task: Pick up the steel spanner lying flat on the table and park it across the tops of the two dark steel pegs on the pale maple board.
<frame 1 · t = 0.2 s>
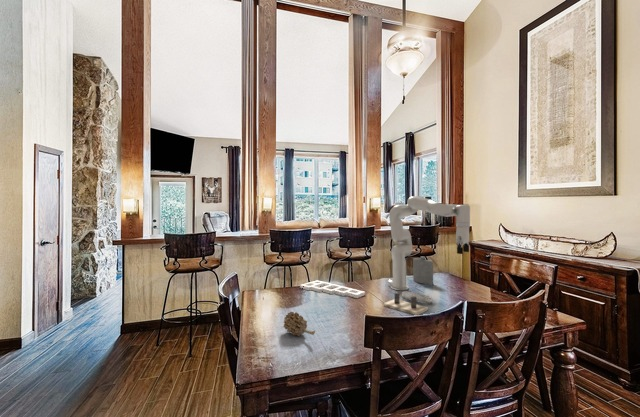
hand: (463, 252, 187), 31 cm above the table, tool pointing down, fingers open, 9 cm apart
peg board: (405, 307, 180), on the table
hip flask: (422, 282, 233), on the table
holder: (331, 292, 214), on the table
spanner: (416, 300, 193), on the table
pine cone: (300, 336, 143), on the table
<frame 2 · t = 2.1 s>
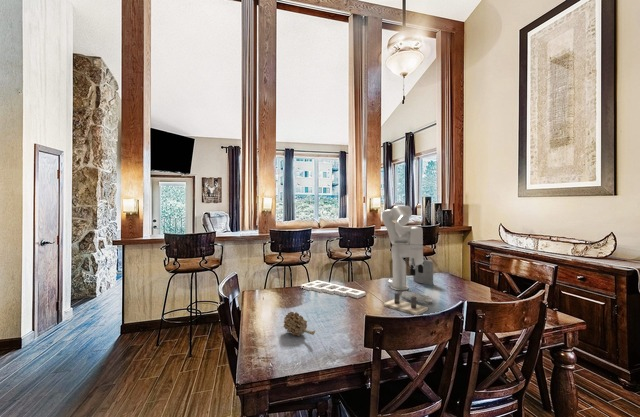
hand: (416, 273, 192), 17 cm above the table, tool pointing down, fingers open, 9 cm apart
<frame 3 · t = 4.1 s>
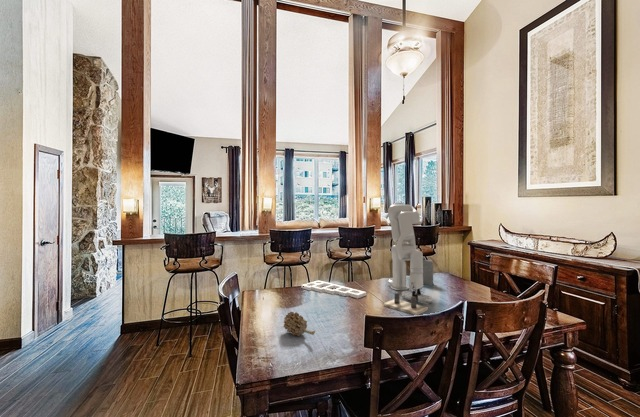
hand: (416, 299, 193), 1 cm above the table, tool pointing down, fingers closed on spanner, 4 cm apart
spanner: (416, 300, 193), on the table, touching gripper
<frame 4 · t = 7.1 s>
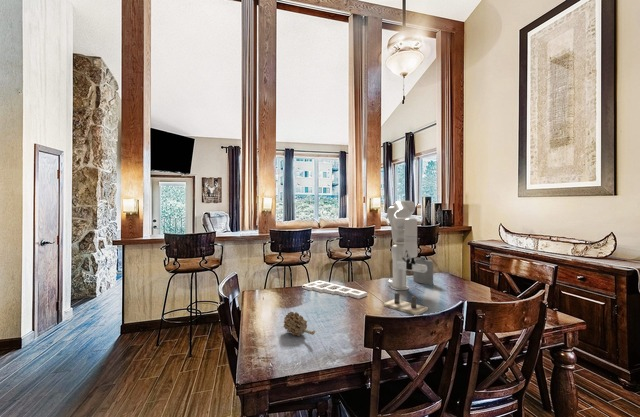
hand: (410, 268, 185), 22 cm above the table, tool pointing down, fingers closed on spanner, 4 cm apart
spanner: (410, 269, 185), point 21 cm above the table, touching gripper
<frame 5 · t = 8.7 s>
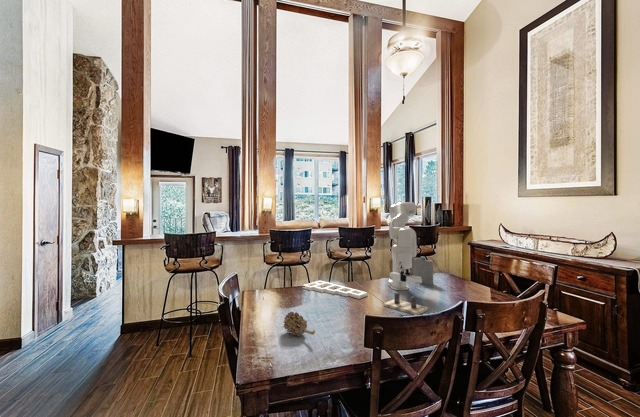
hand: (405, 280, 179), 16 cm above the table, tool pointing down, fingers closed on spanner, 4 cm apart
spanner: (405, 281, 179), point 16 cm above the table, touching gripper
when the fingers open (9 cm above the table, at t = 10.2 s): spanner stays where it is, resting on peg board.
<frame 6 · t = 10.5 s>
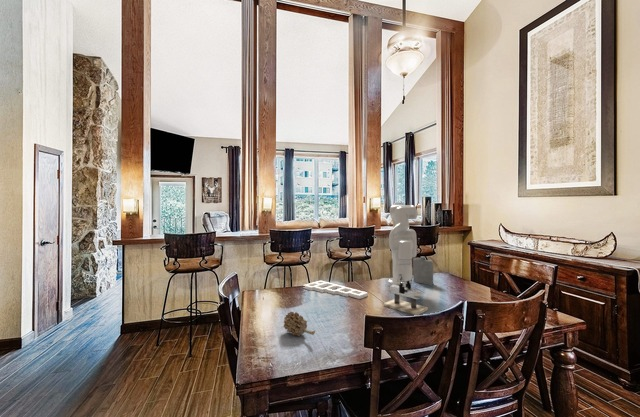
hand: (405, 291, 179), 10 cm above the table, tool pointing down, fingers open, 6 cm apart
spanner: (405, 295, 179), point 7 cm above the table, touching peg board
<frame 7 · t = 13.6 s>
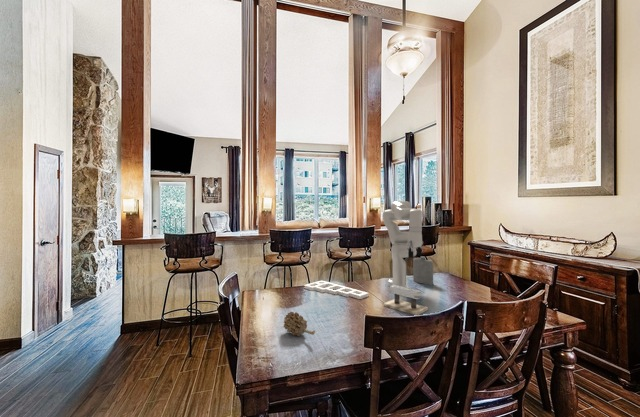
hand: (415, 256, 192), 28 cm above the table, tool pointing down, fingers open, 9 cm apart
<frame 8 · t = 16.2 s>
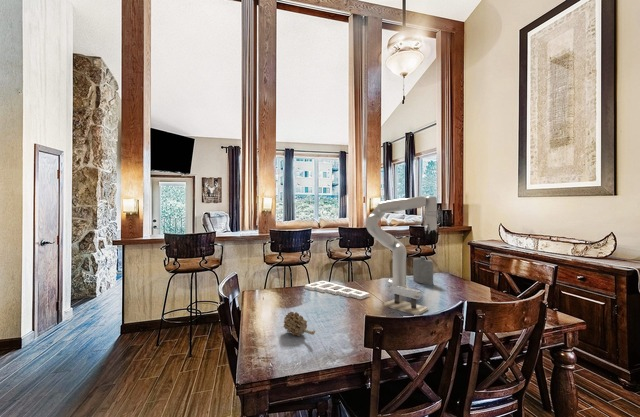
hand: (431, 238, 214), 36 cm above the table, tool pointing down, fingers open, 9 cm apart
at the end: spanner 0.1 cm off-centre on the peg board, point 7.5 cm above the peg board's base; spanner tilted 0°; the gripper is holding nothing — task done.
